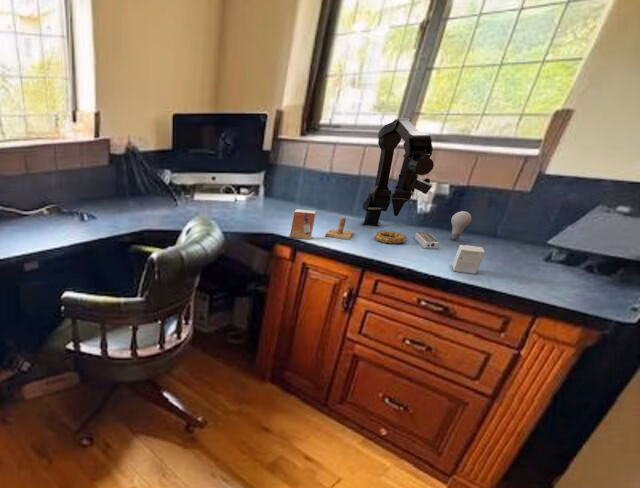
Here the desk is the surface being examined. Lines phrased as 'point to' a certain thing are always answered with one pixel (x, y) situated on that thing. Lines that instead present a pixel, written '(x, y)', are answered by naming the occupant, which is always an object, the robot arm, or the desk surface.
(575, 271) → the desk surface
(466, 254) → the product box
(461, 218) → the lightbulb
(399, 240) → the ring
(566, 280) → the desk surface
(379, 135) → the robot arm
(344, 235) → the peg stand
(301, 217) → the small box
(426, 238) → the multiport hub
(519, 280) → the desk surface
